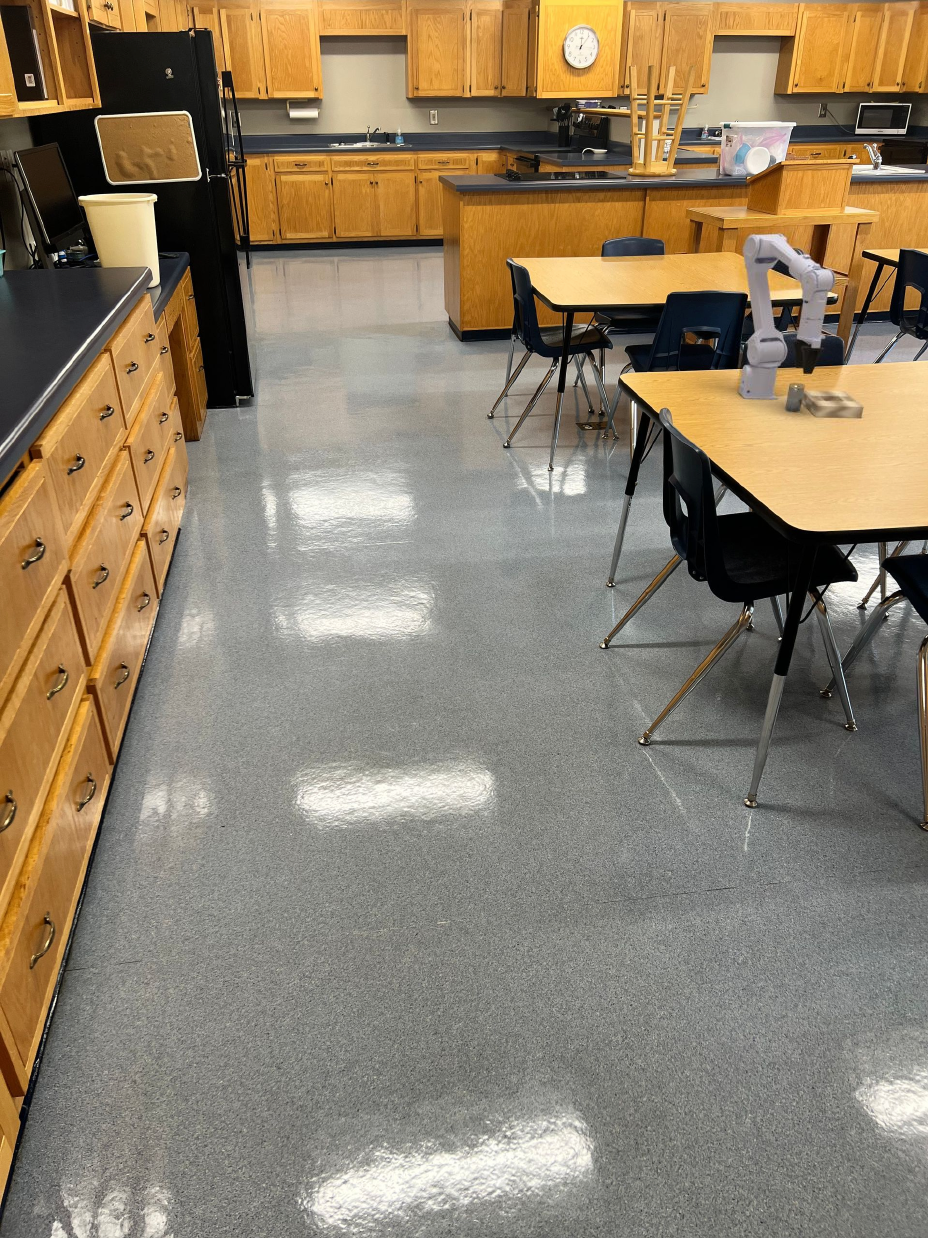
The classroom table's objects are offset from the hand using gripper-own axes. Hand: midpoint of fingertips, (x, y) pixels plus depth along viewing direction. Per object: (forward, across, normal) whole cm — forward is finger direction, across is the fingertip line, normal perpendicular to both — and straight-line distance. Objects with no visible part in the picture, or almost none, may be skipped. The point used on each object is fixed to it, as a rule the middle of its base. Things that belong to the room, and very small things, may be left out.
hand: (803, 370), depth 242 cm
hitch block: (+11, +2, -10) cm, 15 cm away
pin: (+11, +1, +1) cm, 11 cm away
